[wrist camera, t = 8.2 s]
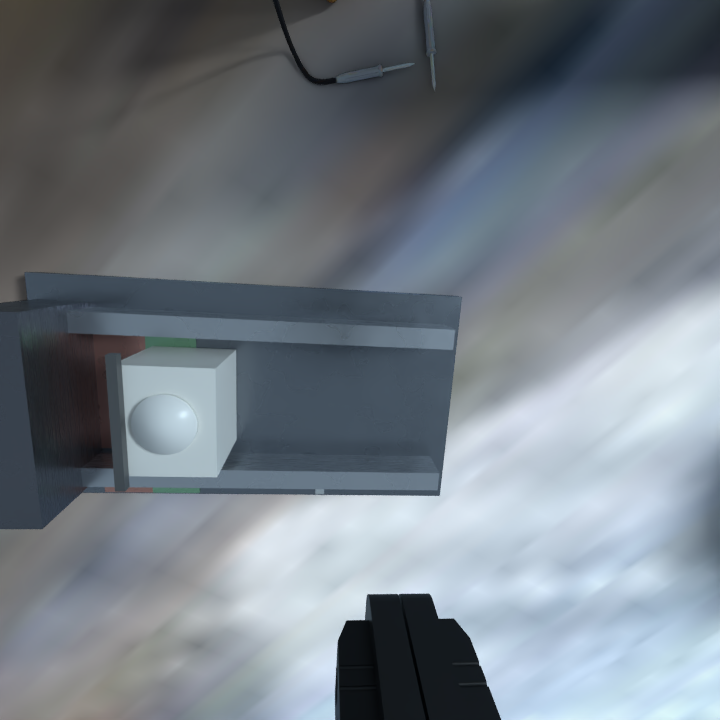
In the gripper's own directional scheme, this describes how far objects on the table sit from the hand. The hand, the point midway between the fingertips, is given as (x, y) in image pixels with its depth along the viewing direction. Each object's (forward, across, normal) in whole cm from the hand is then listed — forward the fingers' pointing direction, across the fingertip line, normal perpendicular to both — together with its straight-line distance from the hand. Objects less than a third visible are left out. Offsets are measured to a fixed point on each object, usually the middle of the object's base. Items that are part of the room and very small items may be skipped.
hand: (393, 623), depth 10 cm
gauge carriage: (+17, +10, 0) cm, 20 cm away
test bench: (+19, +6, 0) cm, 20 cm away
